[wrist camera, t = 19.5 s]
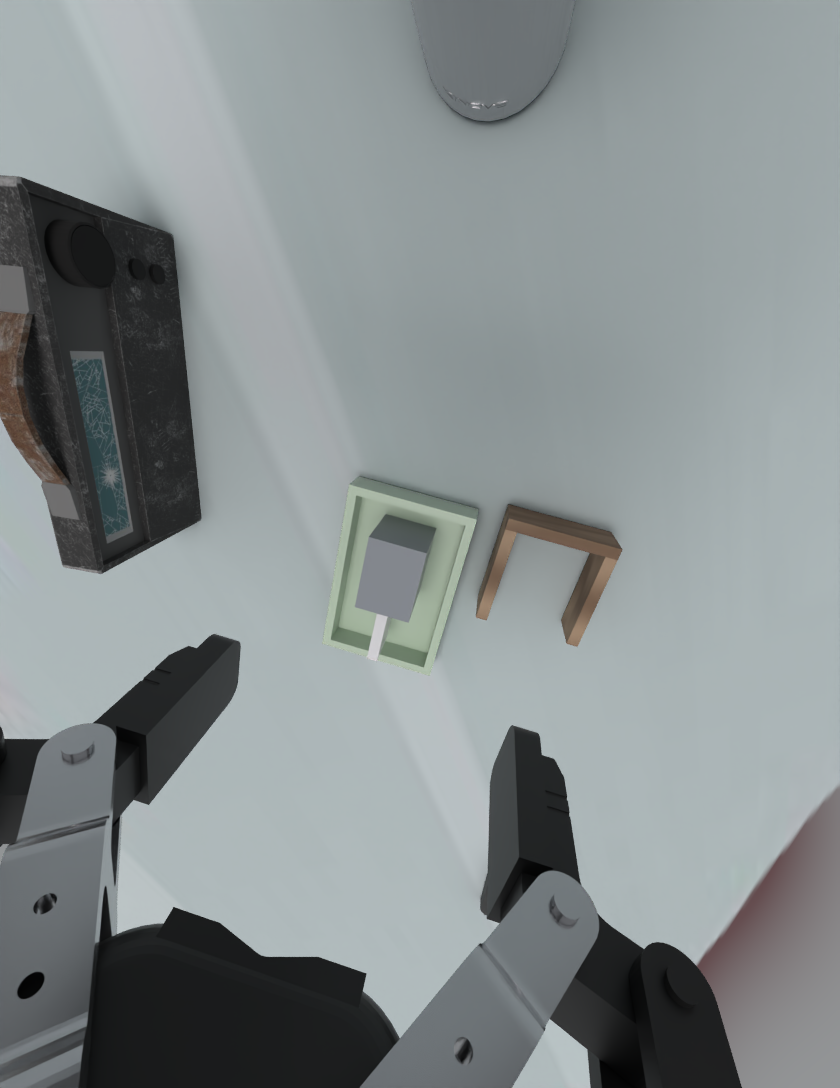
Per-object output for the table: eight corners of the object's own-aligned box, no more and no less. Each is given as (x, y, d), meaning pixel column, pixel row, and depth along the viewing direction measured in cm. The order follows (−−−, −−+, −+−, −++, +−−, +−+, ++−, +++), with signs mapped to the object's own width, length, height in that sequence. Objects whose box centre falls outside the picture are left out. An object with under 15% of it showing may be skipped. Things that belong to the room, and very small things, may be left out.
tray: (359, 476, 42) (349, 484, 39) (478, 509, 41) (477, 519, 39) (332, 627, 49) (322, 643, 46) (433, 657, 48) (429, 675, 46)
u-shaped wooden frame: (508, 504, 41) (508, 518, 37) (611, 532, 40) (622, 549, 36) (477, 596, 45) (475, 617, 41) (571, 622, 44) (577, 646, 40)
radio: (212, 521, 47) (28, 625, 28) (174, 515, 47) (-31, 614, 29) (186, 236, 37) (-123, 114, 18) (139, 231, 37) (-209, 109, 19)
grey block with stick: (385, 513, 42) (368, 536, 37) (436, 528, 42) (426, 553, 37) (363, 621, 47) (345, 655, 42) (408, 634, 47) (395, 670, 42)
